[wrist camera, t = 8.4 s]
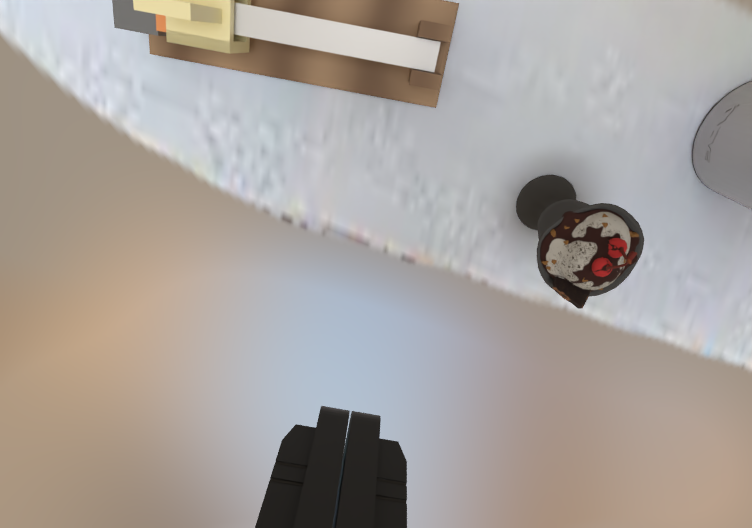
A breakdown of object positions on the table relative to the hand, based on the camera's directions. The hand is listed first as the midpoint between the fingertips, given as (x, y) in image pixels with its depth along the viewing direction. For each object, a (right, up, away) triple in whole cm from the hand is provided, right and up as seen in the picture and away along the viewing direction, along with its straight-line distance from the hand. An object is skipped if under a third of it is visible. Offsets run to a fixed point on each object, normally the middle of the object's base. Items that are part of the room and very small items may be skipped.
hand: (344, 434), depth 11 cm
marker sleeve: (-10, +22, +19) cm, 31 cm away
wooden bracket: (-5, +22, +22) cm, 31 cm away
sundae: (+15, +10, +27) cm, 32 cm away
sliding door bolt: (-5, +21, +21) cm, 30 cm away
